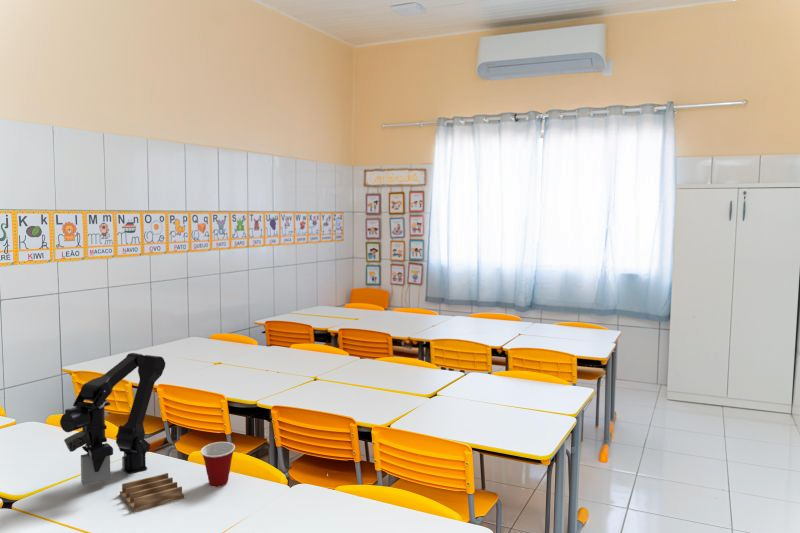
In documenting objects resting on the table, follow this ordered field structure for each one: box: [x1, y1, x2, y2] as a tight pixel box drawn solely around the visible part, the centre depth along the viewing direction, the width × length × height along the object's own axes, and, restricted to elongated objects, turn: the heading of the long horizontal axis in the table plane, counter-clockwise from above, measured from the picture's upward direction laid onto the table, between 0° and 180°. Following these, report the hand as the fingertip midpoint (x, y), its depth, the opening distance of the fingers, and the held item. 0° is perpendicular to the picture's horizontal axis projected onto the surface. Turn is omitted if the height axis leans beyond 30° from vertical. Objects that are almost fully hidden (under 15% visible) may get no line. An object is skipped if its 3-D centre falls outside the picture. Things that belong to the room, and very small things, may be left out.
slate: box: [80, 453, 111, 486], centre depth 198 cm, size 8×2×9 cm, turn 129°
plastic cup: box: [200, 441, 236, 488], centre depth 203 cm, size 11×11×12 cm
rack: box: [119, 472, 185, 513], centre depth 193 cm, size 15×14×4 cm
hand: (95, 470), depth 198 cm, fingers closed on slate, 2 cm apart
